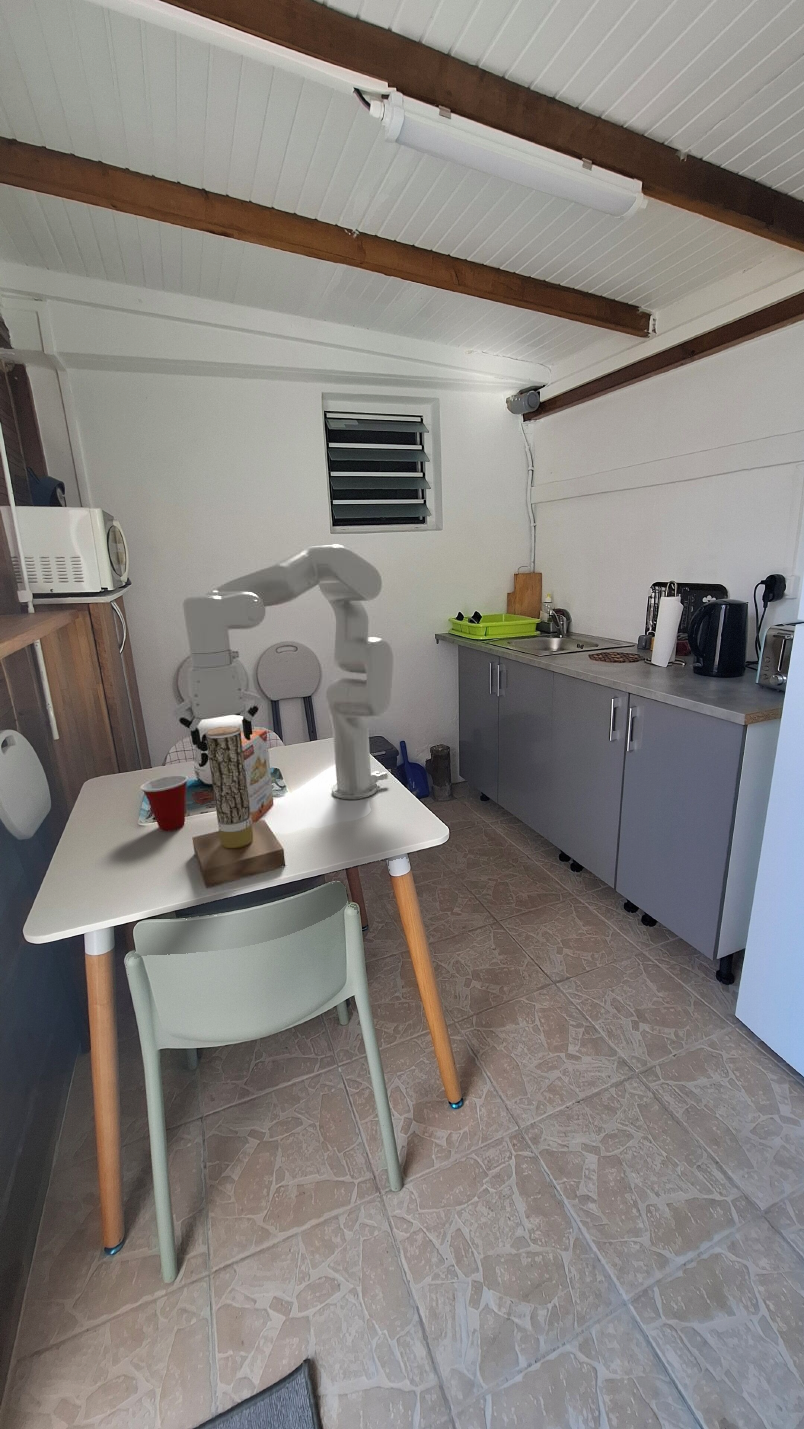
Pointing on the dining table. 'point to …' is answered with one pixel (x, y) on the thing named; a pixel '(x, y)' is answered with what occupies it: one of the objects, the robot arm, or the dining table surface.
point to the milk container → (201, 755)
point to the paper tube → (230, 786)
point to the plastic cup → (167, 800)
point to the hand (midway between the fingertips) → (223, 742)
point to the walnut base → (237, 856)
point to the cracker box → (257, 773)
